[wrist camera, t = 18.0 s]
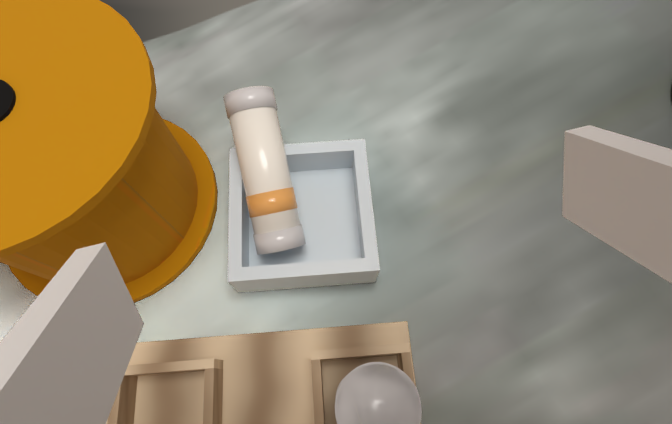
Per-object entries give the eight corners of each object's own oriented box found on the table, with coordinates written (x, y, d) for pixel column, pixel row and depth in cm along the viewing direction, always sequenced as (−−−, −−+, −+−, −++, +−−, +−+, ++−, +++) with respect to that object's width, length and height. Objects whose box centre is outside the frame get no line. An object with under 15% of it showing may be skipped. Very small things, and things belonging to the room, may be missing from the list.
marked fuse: (315, 240, 34) (283, 88, 33) (282, 251, 31) (246, 84, 30) (281, 245, 36) (250, 102, 36) (246, 256, 33) (212, 100, 33)
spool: (43, 355, 33) (-169, 334, 19) (-18, 174, 39) (-216, 57, 25) (253, 239, 37) (202, 150, 23) (169, 88, 42) (86, -57, 28)
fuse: (386, 367, 31) (415, 358, 20) (393, 427, 30) (428, 452, 18) (333, 372, 31) (331, 365, 20) (337, 431, 29) (338, 461, 18)
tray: (362, 162, 39) (364, 138, 36) (375, 282, 35) (380, 270, 31) (239, 170, 39) (229, 147, 35) (239, 292, 35) (227, 281, 31)
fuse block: (403, 324, 34) (412, 316, 30) (422, 471, 30) (436, 485, 26) (-36, 359, 33) (-90, 356, 29) (-71, 515, 29) (-139, 537, 25)
